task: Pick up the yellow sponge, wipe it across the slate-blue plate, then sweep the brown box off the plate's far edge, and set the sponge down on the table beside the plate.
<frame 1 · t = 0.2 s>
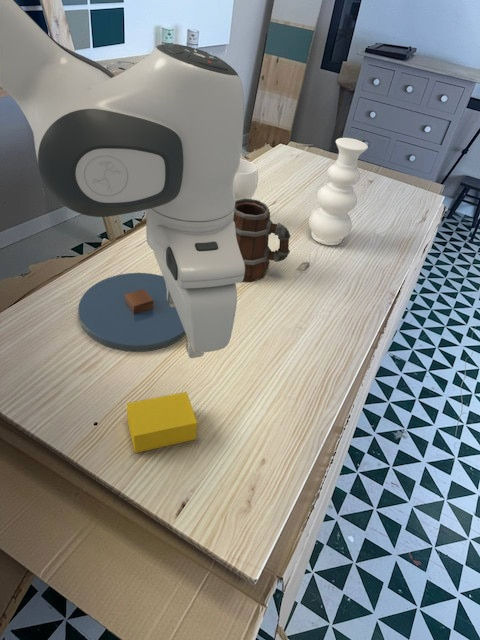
hand: (184, 327, 57), 20 cm above the worktop, tool pointing down, fingers open, 8 cm apart
mug: (250, 270, 106), on the worktop
cup: (231, 222, 122), on the worktop
vase: (325, 239, 121), on the worktop
sponge: (161, 429, 69), on the worktop
brown box: (139, 305, 89), point 1 cm above the worktop, touching plate
plate: (139, 311, 90), on the worktop
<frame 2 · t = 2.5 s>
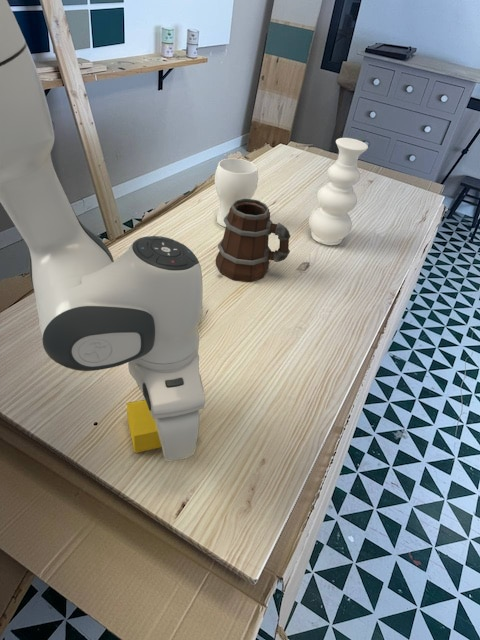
hand: (161, 422, 68), 2 cm above the worktop, tool pointing down, fingers closed on sponge, 6 cm apart
sponge: (161, 429, 69), on the worktop, touching gripper
everything else where it was.
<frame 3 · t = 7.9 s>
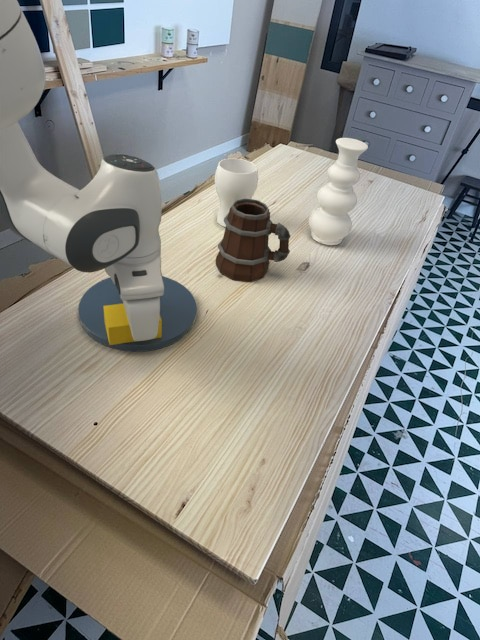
hand: (134, 324, 82), 3 cm above the worktop, tool pointing down, fingers closed on sponge, 6 cm apart
sponge: (133, 330, 83), point 2 cm above the worktop, touching gripper
brown box: (139, 305, 89), point 2 cm above the worktop, touching gripper
everything else where it was.
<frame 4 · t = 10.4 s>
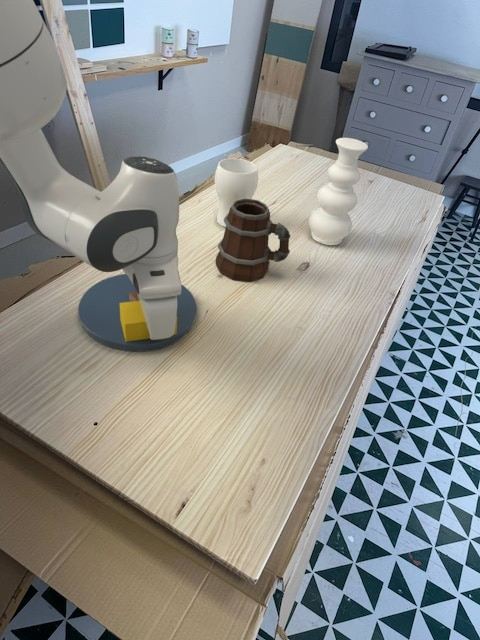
hand: (150, 323, 84), 2 cm above the worktop, tool pointing down, fingers closed on sponge, 6 cm apart
sponge: (148, 327, 84), point 2 cm above the worktop, touching gripper
brown box: (143, 303, 89), point 1 cm above the worktop, touching gripper, plate
everything else where it was.
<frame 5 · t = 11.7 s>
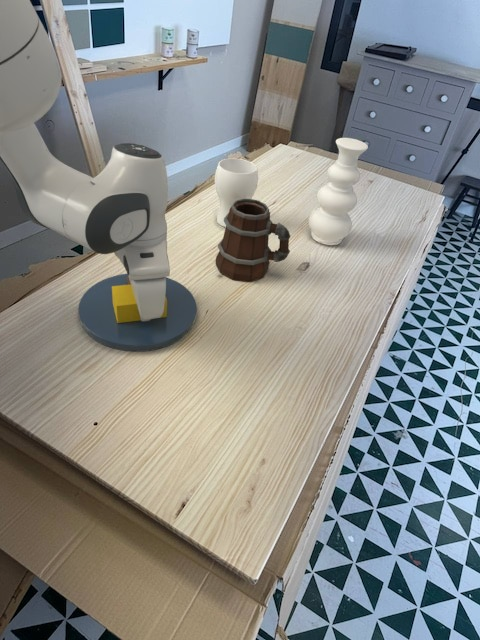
hand: (141, 306, 87), 2 cm above the worktop, tool pointing down, fingers closed on sponge, 6 cm apart
sponge: (139, 310, 88), point 2 cm above the worktop, touching gripper
brown box: (138, 289, 92), point 2 cm above the worktop, touching plate
everything else where it was.
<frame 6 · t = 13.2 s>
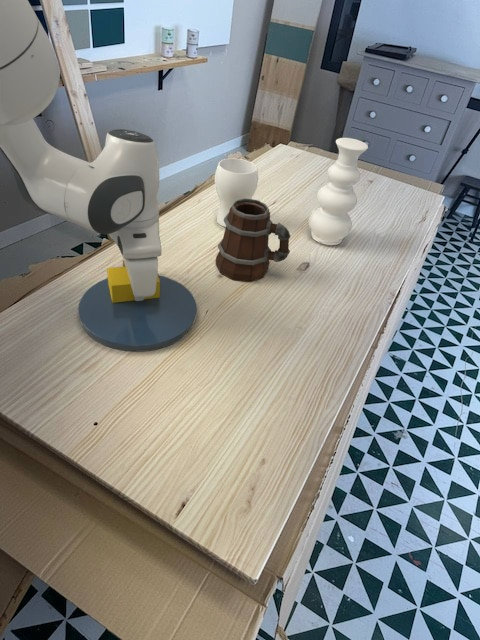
hand: (135, 287, 91), 2 cm above the worktop, tool pointing down, fingers closed on sponge, 6 cm apart
sponge: (133, 291, 92), point 2 cm above the worktop, touching gripper
brown box: (134, 272, 97), point 1 cm above the worktop, touching gripper, plate
everything else where it was.
when the fingers open (1 cm above the worktop, at t = 21.9 s): sponge stays where it is, on the worktop.
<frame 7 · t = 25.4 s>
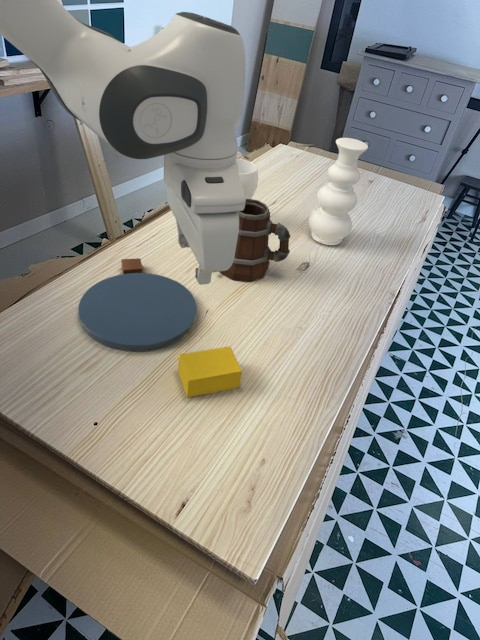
hand: (193, 262, 67), 21 cm above the worktop, tool pointing down, fingers open, 8 cm apart
sponge: (208, 379, 78), on the worktop
brown box: (132, 271, 99), on the worktop
everything else where it was.
at the end: brown box inside the target area on the worktop beside the plate (5.3 cm from its centre), on the worktop; sponge inside the target area (0.2 cm from its centre), on the worktop; the gripper is holding nothing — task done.
